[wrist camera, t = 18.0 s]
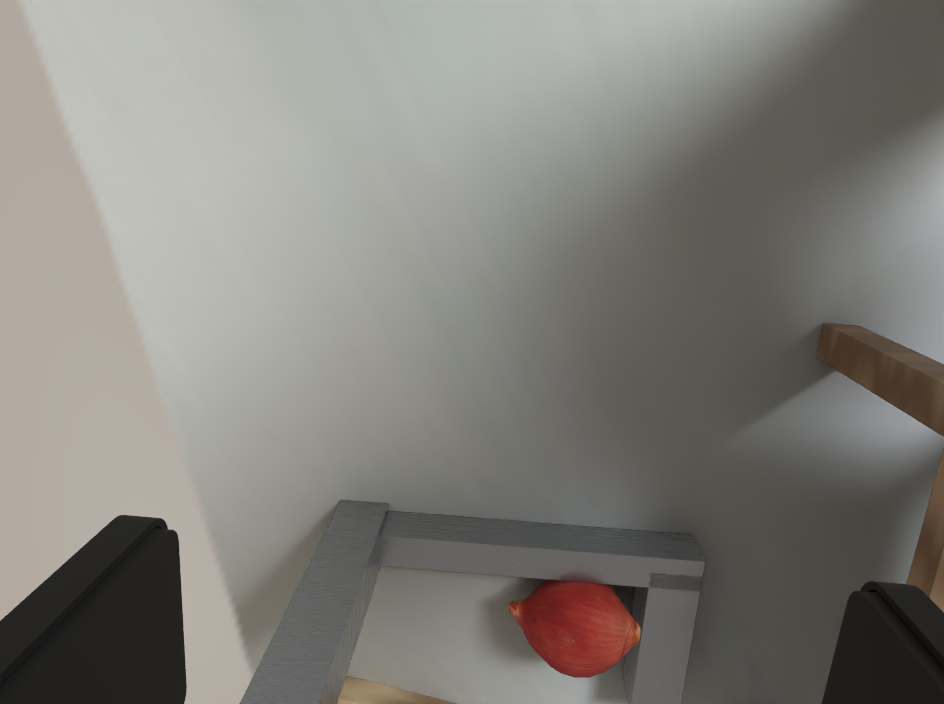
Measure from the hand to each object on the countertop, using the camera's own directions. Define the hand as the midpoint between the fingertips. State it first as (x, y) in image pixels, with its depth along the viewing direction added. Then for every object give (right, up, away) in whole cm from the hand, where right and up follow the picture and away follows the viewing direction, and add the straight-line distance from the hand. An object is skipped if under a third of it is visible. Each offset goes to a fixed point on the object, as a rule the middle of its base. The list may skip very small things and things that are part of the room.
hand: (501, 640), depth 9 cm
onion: (+10, -13, +31) cm, 35 cm away
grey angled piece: (+2, -12, +35) cm, 36 cm away
